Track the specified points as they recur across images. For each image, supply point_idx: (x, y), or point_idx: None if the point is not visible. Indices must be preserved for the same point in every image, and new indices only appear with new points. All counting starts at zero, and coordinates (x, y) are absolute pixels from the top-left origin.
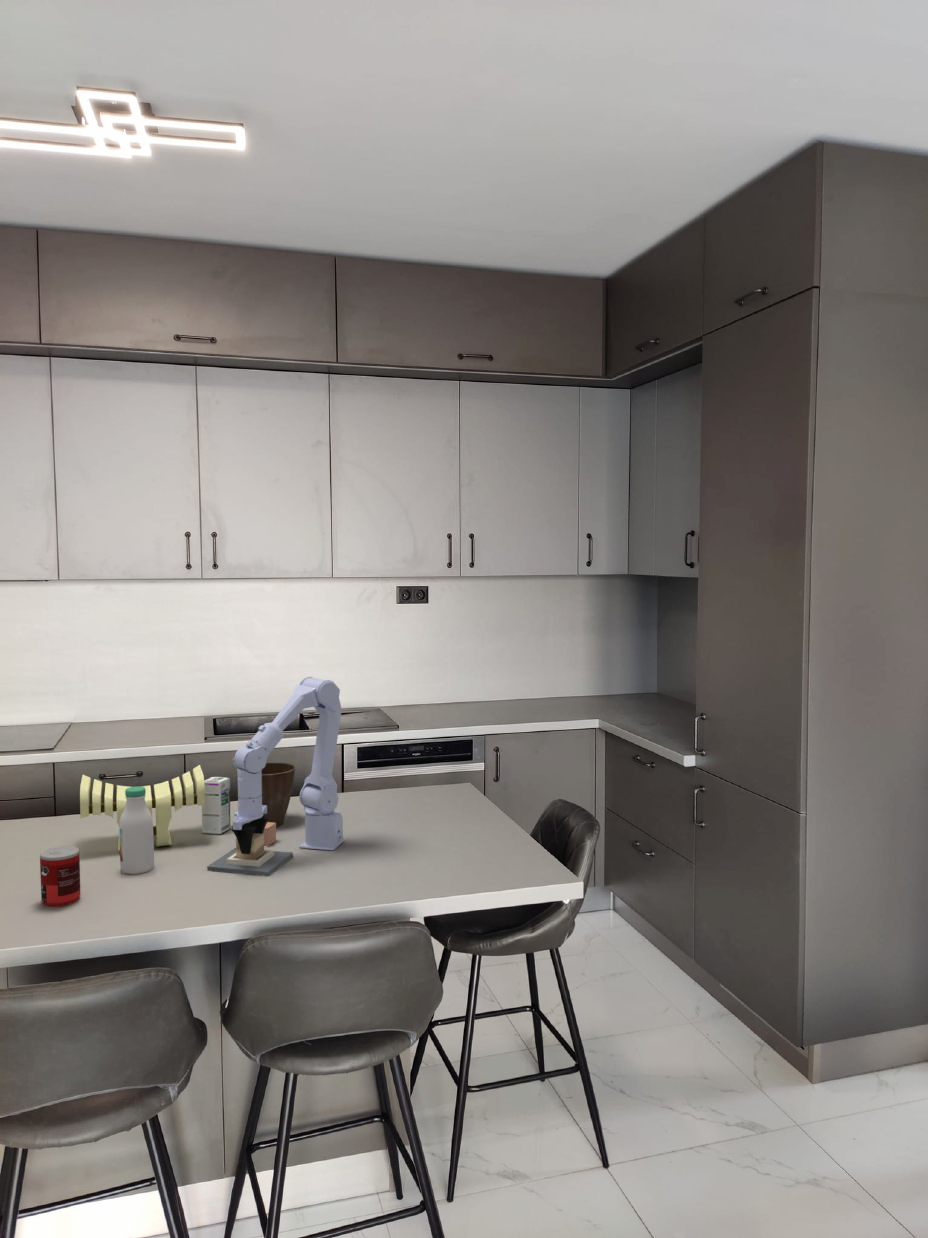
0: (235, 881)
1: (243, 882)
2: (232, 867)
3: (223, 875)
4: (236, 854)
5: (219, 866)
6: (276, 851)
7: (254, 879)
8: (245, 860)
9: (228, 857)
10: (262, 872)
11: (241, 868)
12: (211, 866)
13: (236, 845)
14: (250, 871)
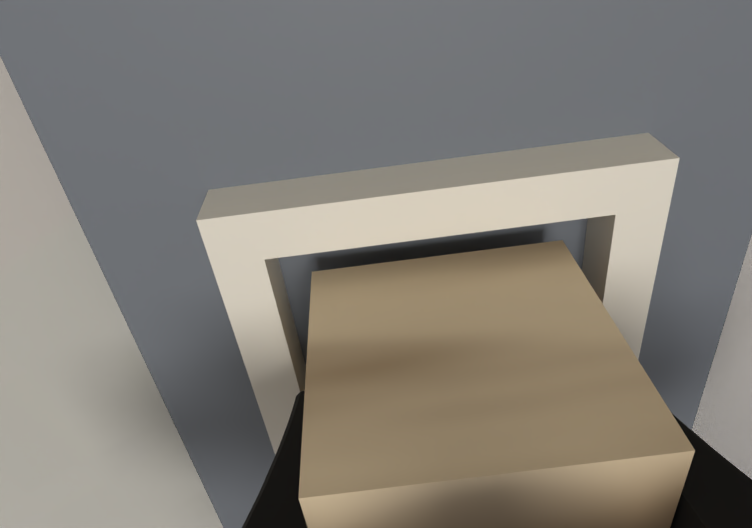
0: (10, 410)
1: (39, 459)
2: (156, 303)
3: (38, 257)
4: (311, 308)
5: (89, 165)
6: (695, 398)
7: (136, 482)
8: (268, 406)
9: (423, 65)
10: (219, 513)
11: (183, 382)
12: (18, 66)
13: (305, 404)
14: (189, 448)
